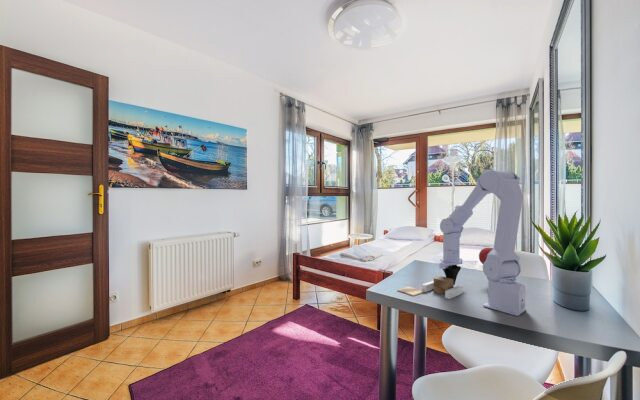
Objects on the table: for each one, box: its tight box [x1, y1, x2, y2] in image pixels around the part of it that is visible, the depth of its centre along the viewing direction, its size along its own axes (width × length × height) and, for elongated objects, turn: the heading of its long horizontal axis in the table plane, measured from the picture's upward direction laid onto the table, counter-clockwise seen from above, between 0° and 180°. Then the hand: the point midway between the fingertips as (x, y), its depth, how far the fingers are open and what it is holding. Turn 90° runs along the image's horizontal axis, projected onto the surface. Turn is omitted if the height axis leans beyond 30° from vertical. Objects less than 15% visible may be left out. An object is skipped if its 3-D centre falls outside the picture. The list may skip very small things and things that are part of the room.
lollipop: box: [478, 247, 494, 265], centre depth 110 cm, size 8×8×15 cm
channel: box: [421, 280, 464, 300], centre depth 100 cm, size 10×10×2 cm
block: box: [433, 275, 454, 295], centre depth 100 cm, size 5×5×5 cm
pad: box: [396, 286, 425, 297], centre depth 100 cm, size 7×7×1 cm
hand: (451, 284), depth 104 cm, fingers closed
